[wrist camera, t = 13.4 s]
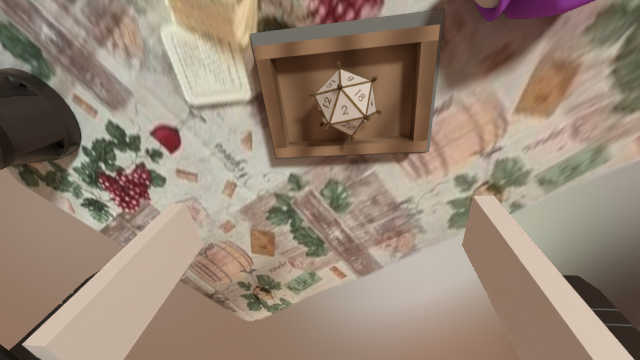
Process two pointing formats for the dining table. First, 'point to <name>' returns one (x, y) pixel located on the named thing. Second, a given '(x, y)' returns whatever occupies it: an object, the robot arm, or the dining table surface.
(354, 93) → the game die
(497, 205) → the robot arm
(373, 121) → the brown wooden tray
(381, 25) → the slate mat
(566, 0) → the toy camera
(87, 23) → the dining table surface
